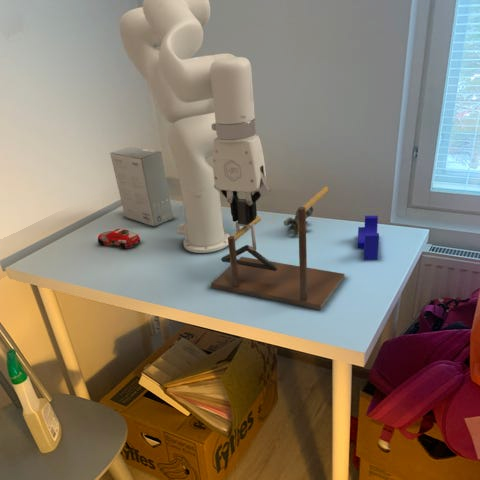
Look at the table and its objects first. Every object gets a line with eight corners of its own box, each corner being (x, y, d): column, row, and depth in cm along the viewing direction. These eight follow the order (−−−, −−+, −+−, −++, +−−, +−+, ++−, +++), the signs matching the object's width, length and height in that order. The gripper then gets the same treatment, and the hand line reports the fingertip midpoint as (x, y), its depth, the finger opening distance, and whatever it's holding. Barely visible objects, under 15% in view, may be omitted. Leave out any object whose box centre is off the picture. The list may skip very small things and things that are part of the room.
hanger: (220, 263, 113) (212, 198, 105) (223, 260, 114) (215, 196, 106) (275, 272, 107) (271, 205, 98) (278, 269, 108) (275, 202, 99)
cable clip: (357, 238, 124) (358, 215, 121) (376, 238, 123) (377, 215, 120) (357, 259, 115) (358, 235, 112) (377, 259, 114) (379, 235, 111)
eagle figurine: (316, 233, 127) (319, 214, 133) (300, 213, 123) (304, 194, 130) (292, 246, 131) (297, 226, 137) (276, 227, 128) (281, 208, 134)
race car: (94, 244, 137) (91, 231, 135) (108, 237, 141) (104, 224, 138) (130, 251, 131) (127, 237, 129) (143, 243, 135) (140, 229, 132)
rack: (211, 287, 110) (198, 199, 99) (242, 260, 120) (233, 177, 109) (320, 310, 98) (320, 212, 87) (344, 278, 108) (347, 186, 97)
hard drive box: (174, 218, 148) (162, 151, 137) (154, 227, 143) (140, 158, 132) (143, 209, 157) (130, 145, 146) (123, 217, 153) (108, 152, 142)
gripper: (190, 133, 96) (203, 222, 106) (264, 136, 88) (270, 231, 98) (211, 124, 101) (221, 210, 111) (282, 126, 93) (286, 217, 103)
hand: (244, 219), depth 104 cm, fingers closed on hanger, 2 cm apart
